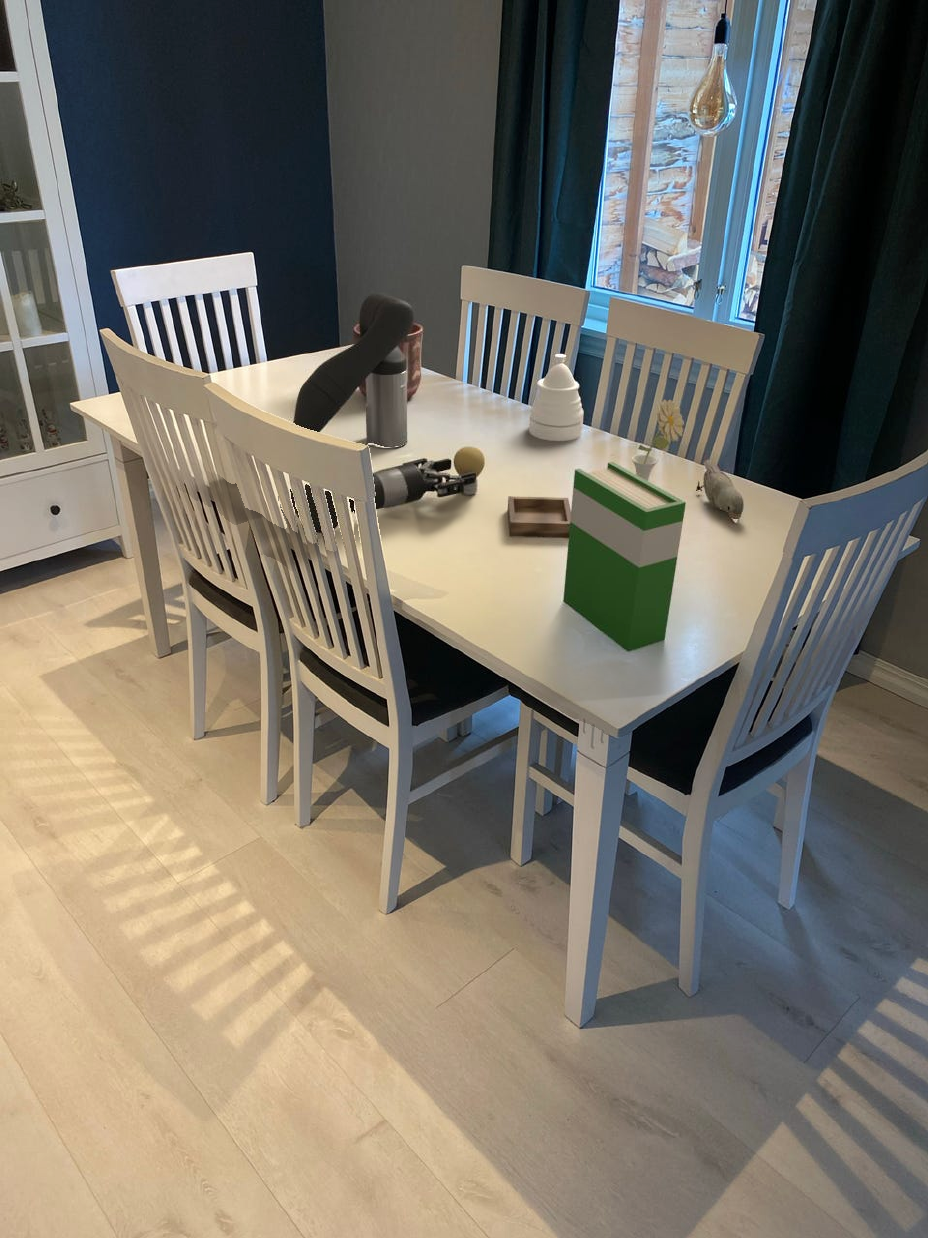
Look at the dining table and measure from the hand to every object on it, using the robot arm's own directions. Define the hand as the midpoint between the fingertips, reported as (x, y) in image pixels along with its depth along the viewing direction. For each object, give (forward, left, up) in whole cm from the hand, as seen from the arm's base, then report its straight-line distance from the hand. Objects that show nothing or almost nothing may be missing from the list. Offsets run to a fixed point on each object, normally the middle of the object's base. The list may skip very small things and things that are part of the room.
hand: (462, 470), depth 197 cm
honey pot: (+22, +40, -6) cm, 46 cm away
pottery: (-20, +63, -6) cm, 66 cm away
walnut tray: (+15, -12, -6) cm, 21 cm away
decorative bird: (+53, -2, -6) cm, 53 cm away
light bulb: (+1, +2, -6) cm, 6 cm away
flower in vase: (+35, -11, -6) cm, 37 cm away
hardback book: (+25, -48, -6) cm, 55 cm away
